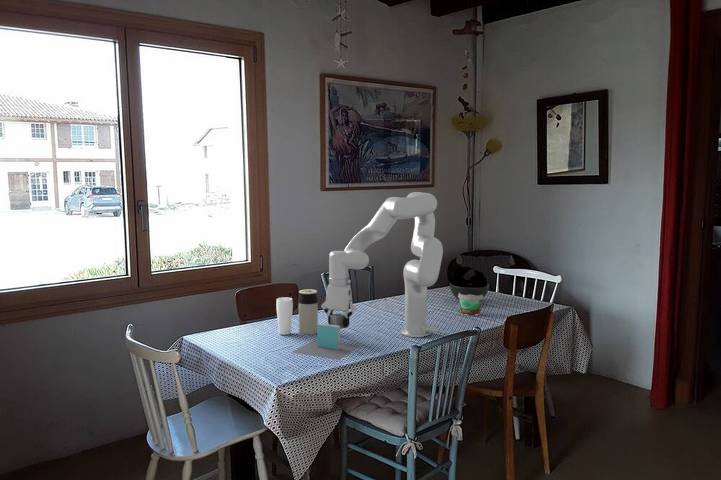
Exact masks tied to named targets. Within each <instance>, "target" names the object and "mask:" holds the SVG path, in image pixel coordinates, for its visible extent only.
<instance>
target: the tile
mask: <svg viewBox="0 0 721 480" xmlns="http://www.w3.org/2000/svg"><path fill="white" fill-rule="evenodd" d="M316 335H317V339H316V340H317V347H323V348H329V349H336V350H338V349H340V343H341V329H340V326H337V325H329V323H321V322H319V323H318V324H317V333H316Z"/></svg>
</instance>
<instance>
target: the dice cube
mask: <svg viewBox="0 0 721 480" xmlns="http://www.w3.org/2000/svg"><path fill="white" fill-rule="evenodd" d="M329 316H330V325H337V326H340V330H343V329H345V328H344V318H345V315H344V313H341V312H338V313H332V314H331V315H329Z"/></svg>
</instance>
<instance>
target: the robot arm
mask: <svg viewBox="0 0 721 480" xmlns="http://www.w3.org/2000/svg"><path fill="white" fill-rule="evenodd" d="M437 206H438V201H437V198H436V197H435V195H434V194H432V193H428V192H422V191H421V192H419V191H412V192H410V193H408V194H407V196H406V197H398V196H390V197H388V198H386V199H385V201H384V202H383V203H382V204H381V206H380V207H379V209H378V210H377V212H376V213H375V214H374V216H373V217H372V218H371V220H370V221H369V222H368V224H367V225H365V226H364V227H363V228H362V229H361V230H360V231H358V233H356V234H355V235H354V236H353V238H352V239H351V240H350V241H349V243H348V244H347V245H346V247H345V248H344V250H332V251H330V252H329V257H328V263H329V264H328V270H329V271H328V276H329V277H328V280H329V281H328V283H329V284H328V285H327V287H326V296H325V301H323V303H322V304H321V305H320V307H321V308H322V310H323V311H324V313H325V314H326V316H327V324H329V325H330V316H329V315H331V314H334V311H340V312H343V313H342V314H344V315H345V318H344V328H343V329H347V328H348V327H350V317H351V316H352V315H353V314H354V313H355V312H356V311H357V310H358V309H357V307H356V306H355V305H354V304H353V292H352V288H351V285H350V284H351V283H352V280H351V279H349V270H363V269H365V268H366V267H367V266H368V265H369V262H370V258H369V255H368V254H367V253H366V252H365V251H366V249H367V248H368V247H369V246H371V245H372V244H374V243H375V242H377V241H380V240H382V239H384V238H385V237H386V236H387V235H388V233H389V232H390V230H391V229H392V228H393V226H394V225H395V223H396V222H397V221H398V220H407V219H414V226H413V231H412V232H413V234H412V239H411V244H410V250H411V251H410V252H411V253H412V254H413V255H415V256H416V257H418V258H419V259H411V260H409V261H407V262H406V263H405V265H404V267H403V272H402V273H403V274H402V275H403V281H404V325H403V326H404V327H403V328H401V330H400V334H401V335H403V336H404V335H405V337H409V338H424V336H426V337H429V336H430V335H431V333H434V334H435V333H437V327H436V326H430V323H429V322H428V294H429V293H428V287H431V286H433V285H435V283H436V282H437V281H438V279H439V274H440V271H441V265H442V260H443V253H444V248H443V243H442V242H441V240H439V239H438V238H437V237H434V236H435V228H436V218H435V214H434V212H435V210H436V209H437ZM428 335H429V336H428Z"/></svg>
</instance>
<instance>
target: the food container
mask: <svg viewBox="0 0 721 480" xmlns="http://www.w3.org/2000/svg"><path fill="white" fill-rule="evenodd" d="M458 298H459V300H460V301H459V300H458V301H459V311H460V312H461V313H463V314H468V315H475V314H479V313H480V314H481V308H482V301H483V300H484V298H485V297H484V298H483V294H482V295H479V296H476V295H472V294H467V295H464V294H460V292H459V294H458ZM461 313H460V314H461Z"/></svg>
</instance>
